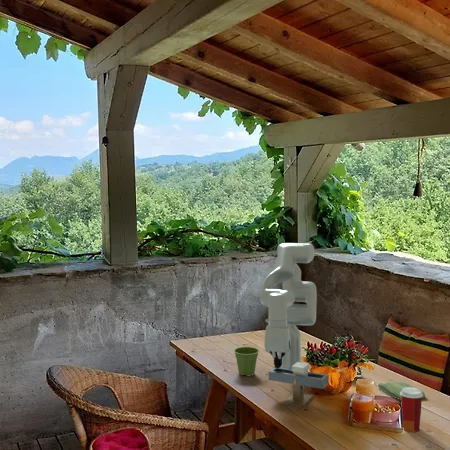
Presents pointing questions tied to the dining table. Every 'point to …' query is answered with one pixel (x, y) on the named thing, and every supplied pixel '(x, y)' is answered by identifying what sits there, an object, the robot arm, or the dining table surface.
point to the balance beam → (298, 384)
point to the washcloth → (395, 388)
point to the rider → (300, 368)
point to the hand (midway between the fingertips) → (277, 367)
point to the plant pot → (246, 359)
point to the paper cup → (411, 408)
